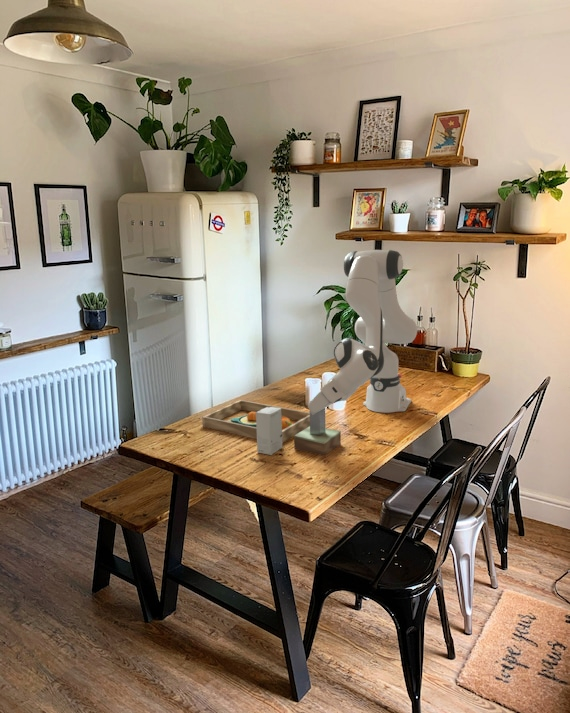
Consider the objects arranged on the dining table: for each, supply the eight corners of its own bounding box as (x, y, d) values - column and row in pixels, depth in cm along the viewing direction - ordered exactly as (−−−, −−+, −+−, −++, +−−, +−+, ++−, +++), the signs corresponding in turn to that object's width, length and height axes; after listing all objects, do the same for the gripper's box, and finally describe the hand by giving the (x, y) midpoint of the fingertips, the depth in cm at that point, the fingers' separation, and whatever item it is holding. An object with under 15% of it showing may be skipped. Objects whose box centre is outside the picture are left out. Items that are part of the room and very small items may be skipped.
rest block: (311, 438, 224) (311, 425, 223) (340, 444, 218) (340, 431, 217) (294, 449, 215) (294, 435, 213) (324, 455, 208) (324, 442, 207)
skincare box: (271, 455, 209) (270, 414, 206) (256, 452, 212) (254, 412, 209) (283, 447, 216) (282, 407, 213) (268, 444, 219) (267, 405, 216)
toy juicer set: (301, 427, 237) (301, 408, 235) (276, 442, 222) (276, 422, 220) (240, 415, 251) (240, 397, 250) (213, 429, 236) (212, 410, 234)
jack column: (315, 430, 218) (315, 398, 215) (325, 432, 216) (325, 400, 213) (309, 434, 215) (309, 401, 212) (320, 436, 212) (319, 403, 209)
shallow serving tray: (240, 408, 259) (240, 399, 258) (314, 423, 240) (314, 413, 239) (202, 426, 238) (202, 417, 237) (279, 443, 219) (279, 433, 219)
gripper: (348, 372, 215) (324, 395, 223) (320, 387, 198) (295, 411, 206) (360, 386, 214) (335, 409, 221) (332, 402, 197) (306, 426, 205)
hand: (315, 410), depth 213 cm, fingers closed on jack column, 4 cm apart
